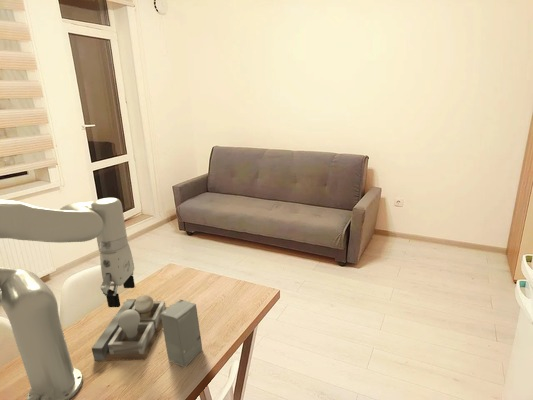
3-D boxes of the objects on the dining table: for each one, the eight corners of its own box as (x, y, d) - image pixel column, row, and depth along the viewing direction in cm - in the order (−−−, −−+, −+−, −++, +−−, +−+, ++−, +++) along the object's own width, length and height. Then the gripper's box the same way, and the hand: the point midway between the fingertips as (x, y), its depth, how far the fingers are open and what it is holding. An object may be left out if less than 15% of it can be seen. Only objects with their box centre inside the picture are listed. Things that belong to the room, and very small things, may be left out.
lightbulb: (131, 351, 100) (124, 320, 97) (118, 344, 103) (112, 313, 100) (148, 339, 105) (142, 308, 102) (135, 332, 108) (130, 302, 105)
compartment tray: (145, 360, 98) (139, 331, 95) (94, 360, 99) (87, 332, 96) (170, 309, 121) (166, 285, 118) (129, 309, 121) (124, 285, 118)
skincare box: (184, 368, 94) (177, 320, 89) (166, 360, 98) (158, 313, 93) (204, 348, 101) (198, 303, 96) (186, 341, 104) (179, 297, 100)
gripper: (111, 256, 85) (121, 315, 90) (138, 230, 102) (146, 281, 107) (82, 256, 85) (94, 315, 90) (114, 231, 102) (122, 281, 107)
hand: (122, 296), depth 99 cm, fingers open, 9 cm apart
